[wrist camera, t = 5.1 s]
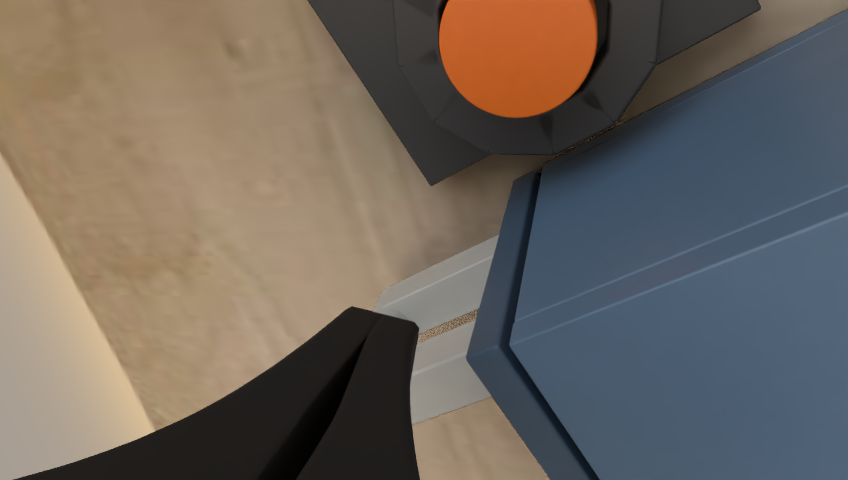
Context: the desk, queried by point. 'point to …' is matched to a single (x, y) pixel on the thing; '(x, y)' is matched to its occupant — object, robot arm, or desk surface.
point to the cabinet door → (483, 338)
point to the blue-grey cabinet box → (702, 278)
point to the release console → (490, 134)
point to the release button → (518, 52)
